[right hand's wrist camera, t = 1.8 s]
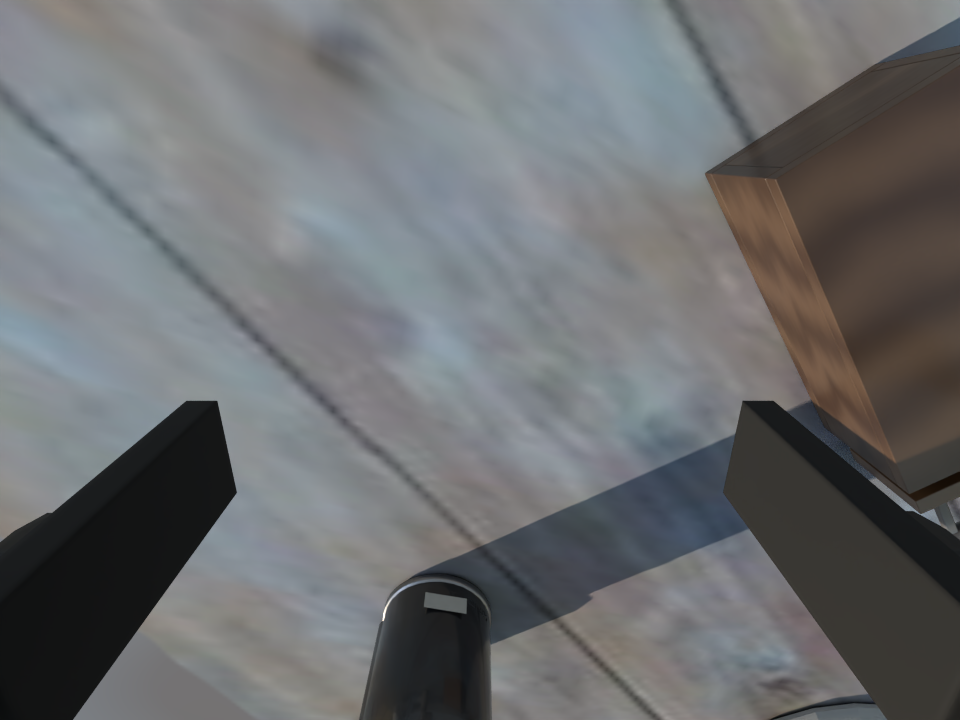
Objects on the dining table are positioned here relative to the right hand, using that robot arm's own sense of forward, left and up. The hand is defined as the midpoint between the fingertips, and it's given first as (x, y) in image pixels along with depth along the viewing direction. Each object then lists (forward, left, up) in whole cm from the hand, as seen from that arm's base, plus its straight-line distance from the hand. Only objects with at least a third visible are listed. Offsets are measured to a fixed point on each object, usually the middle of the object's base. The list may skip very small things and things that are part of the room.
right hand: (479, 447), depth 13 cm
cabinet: (-10, +22, -22) cm, 33 cm away
